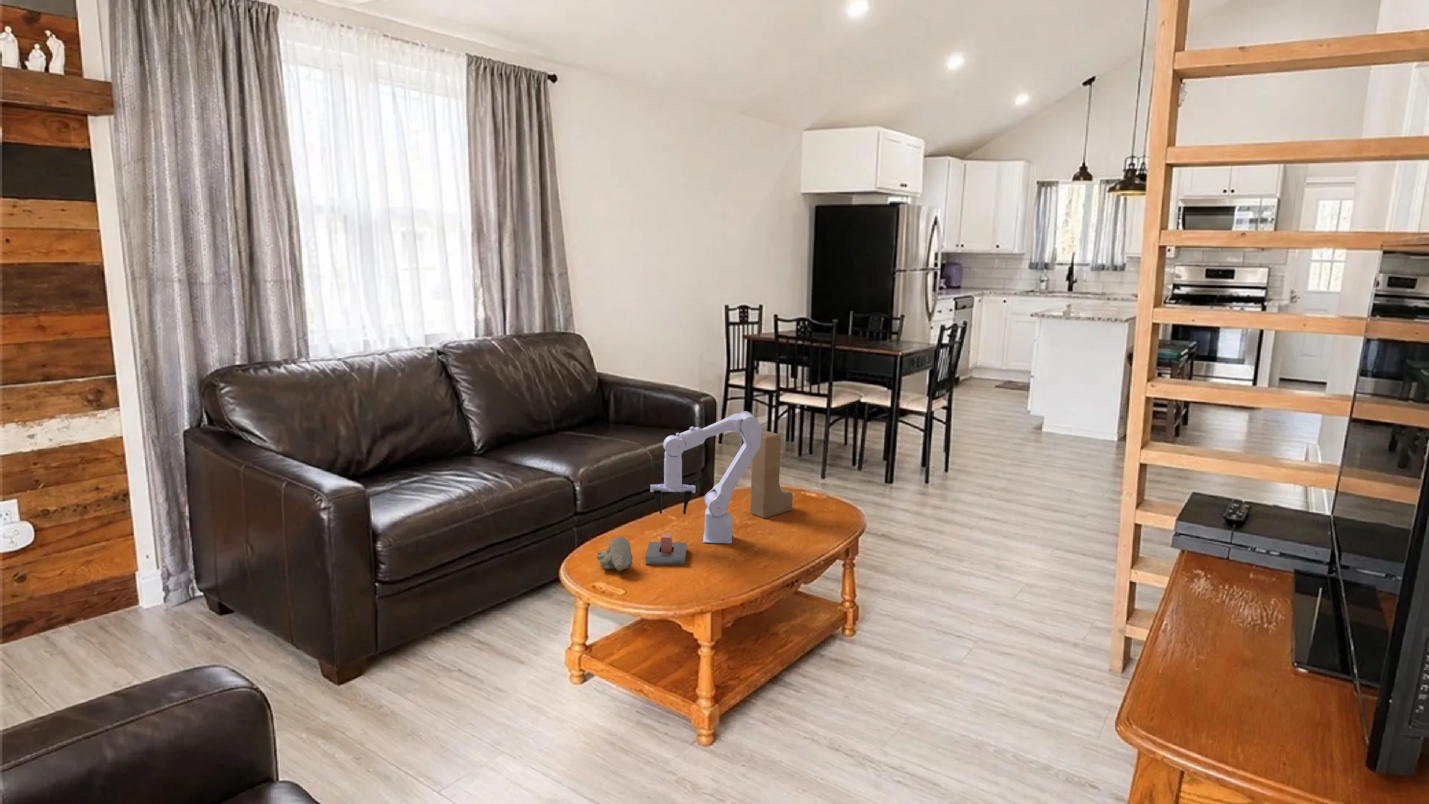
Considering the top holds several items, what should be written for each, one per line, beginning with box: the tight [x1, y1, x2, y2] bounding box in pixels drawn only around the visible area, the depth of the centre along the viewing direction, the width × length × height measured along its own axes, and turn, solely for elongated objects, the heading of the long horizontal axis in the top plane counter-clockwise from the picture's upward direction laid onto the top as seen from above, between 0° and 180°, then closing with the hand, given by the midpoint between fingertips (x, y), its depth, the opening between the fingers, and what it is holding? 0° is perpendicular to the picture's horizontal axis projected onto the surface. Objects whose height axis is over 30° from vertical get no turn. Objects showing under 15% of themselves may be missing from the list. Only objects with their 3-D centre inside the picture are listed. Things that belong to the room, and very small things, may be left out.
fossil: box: [596, 536, 633, 572], centre depth 245 cm, size 14×10×10 cm
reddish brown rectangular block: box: [660, 533, 673, 552], centre depth 254 cm, size 3×3×7 cm
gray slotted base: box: [644, 541, 688, 566], centre depth 254 cm, size 12×12×2 cm
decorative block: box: [750, 430, 794, 519], centre depth 294 cm, size 8×15×30 cm, turn 132°
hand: (672, 512), depth 265 cm, fingers open, 7 cm apart
